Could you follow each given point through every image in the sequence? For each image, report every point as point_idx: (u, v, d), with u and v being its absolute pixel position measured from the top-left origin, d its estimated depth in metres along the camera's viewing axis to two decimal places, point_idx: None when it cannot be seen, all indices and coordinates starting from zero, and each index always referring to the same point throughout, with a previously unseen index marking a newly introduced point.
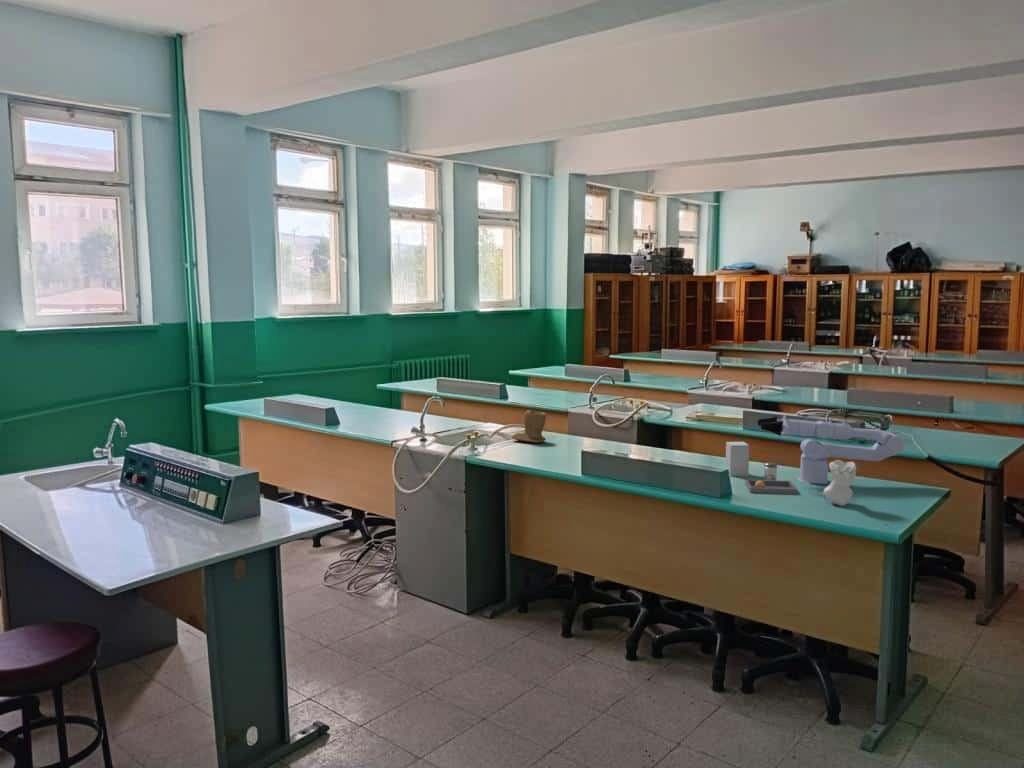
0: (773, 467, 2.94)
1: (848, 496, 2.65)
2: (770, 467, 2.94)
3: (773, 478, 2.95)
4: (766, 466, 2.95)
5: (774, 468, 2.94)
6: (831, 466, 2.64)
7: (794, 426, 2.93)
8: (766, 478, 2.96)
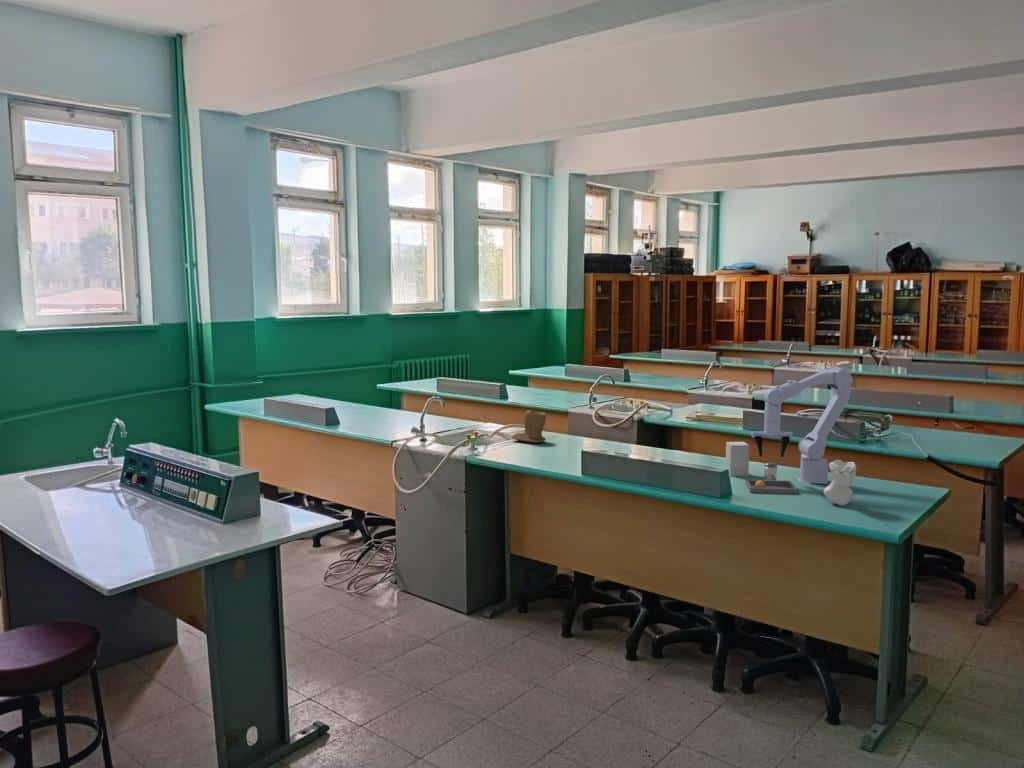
0: (773, 467, 2.94)
1: (848, 496, 2.65)
2: (770, 467, 2.94)
3: (773, 478, 2.95)
4: (766, 466, 2.95)
5: (774, 468, 2.94)
6: (831, 466, 2.64)
7: None
8: (766, 478, 2.96)
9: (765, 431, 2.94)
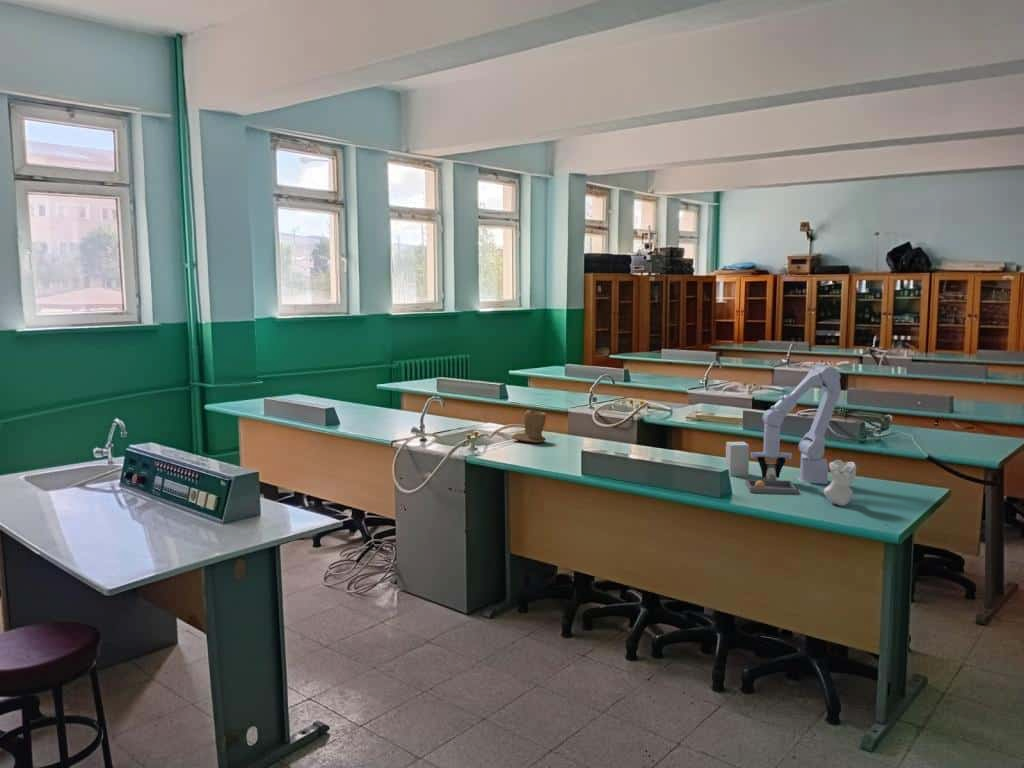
0: (773, 467, 2.94)
1: (848, 496, 2.65)
2: (770, 467, 2.94)
3: (773, 478, 2.95)
4: (766, 466, 2.95)
5: (774, 468, 2.94)
6: (831, 466, 2.64)
7: (779, 446, 2.94)
8: (766, 478, 2.96)
9: (764, 452, 2.95)
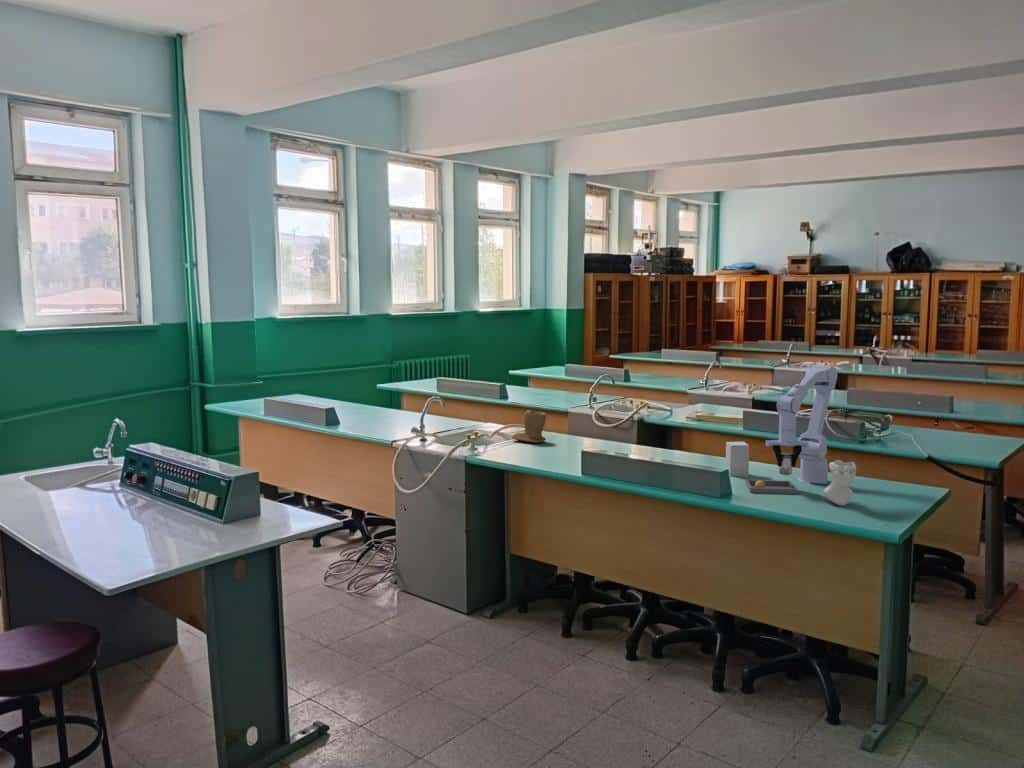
0: (789, 458, 2.83)
1: (848, 496, 2.65)
2: (786, 458, 2.83)
3: (789, 469, 2.83)
4: (782, 457, 2.84)
5: (790, 459, 2.83)
6: (831, 466, 2.64)
7: (795, 433, 2.82)
8: (782, 469, 2.84)
9: (780, 440, 2.83)
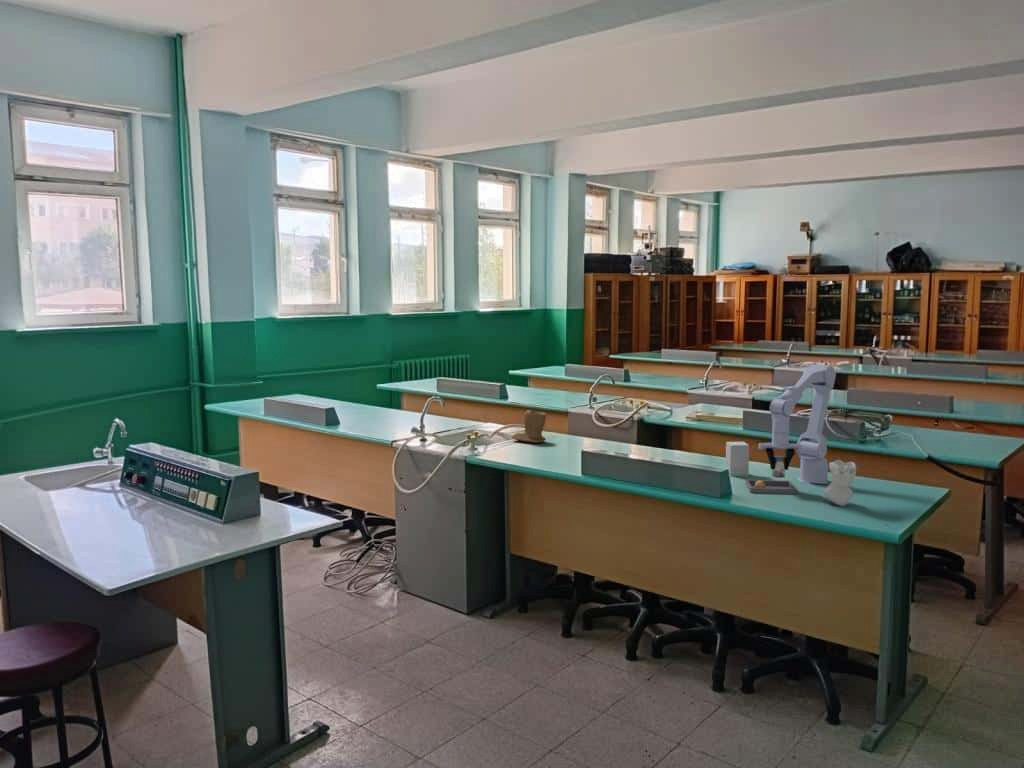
0: (782, 461, 2.83)
1: (848, 496, 2.65)
2: (779, 461, 2.83)
3: (782, 472, 2.84)
4: (775, 460, 2.84)
5: (783, 462, 2.83)
6: (831, 466, 2.64)
7: (788, 436, 2.83)
8: (775, 472, 2.85)
9: (773, 443, 2.83)
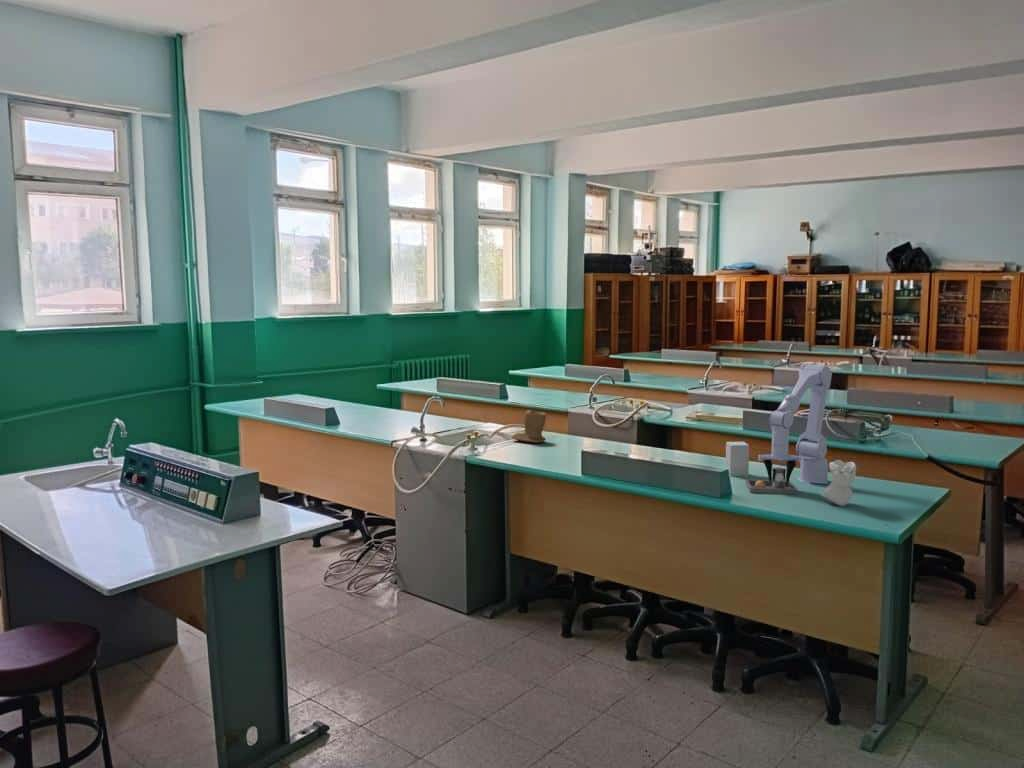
0: (782, 472, 2.84)
1: (848, 496, 2.65)
2: (779, 472, 2.84)
3: (782, 484, 2.84)
4: (774, 471, 2.85)
5: (783, 473, 2.84)
6: (831, 466, 2.64)
7: None
8: (774, 484, 2.85)
9: (772, 455, 2.84)
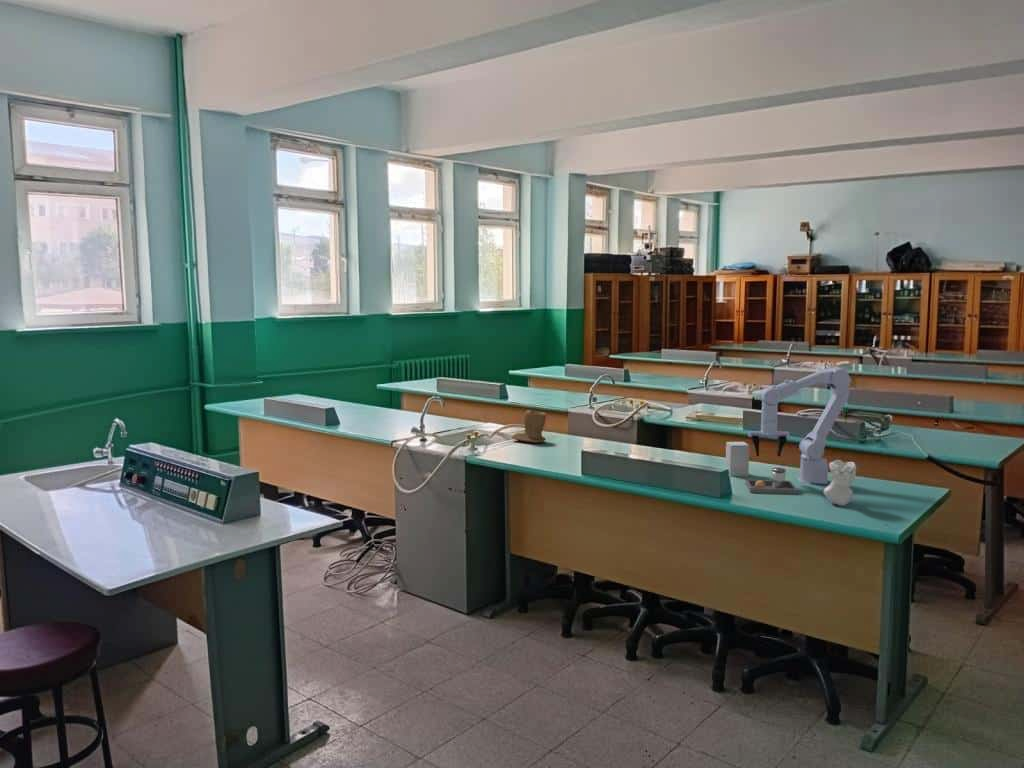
0: (782, 472, 2.84)
1: (848, 496, 2.65)
2: (779, 473, 2.84)
3: (782, 484, 2.84)
4: (774, 472, 2.85)
5: (783, 474, 2.84)
6: (831, 466, 2.64)
7: None
8: (774, 484, 2.85)
9: (762, 431, 2.95)
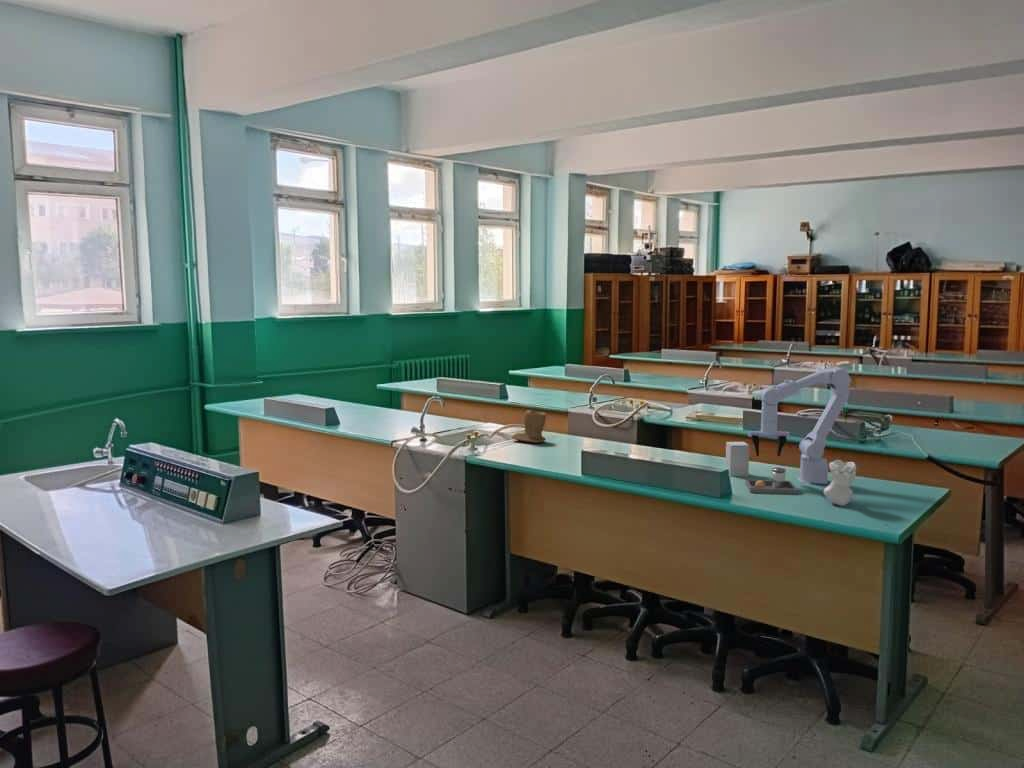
0: (782, 472, 2.84)
1: (848, 496, 2.65)
2: (779, 473, 2.84)
3: (782, 484, 2.84)
4: (774, 472, 2.85)
5: (783, 473, 2.84)
6: (831, 466, 2.64)
7: (776, 424, 2.94)
8: (774, 484, 2.85)
9: (762, 430, 2.95)
